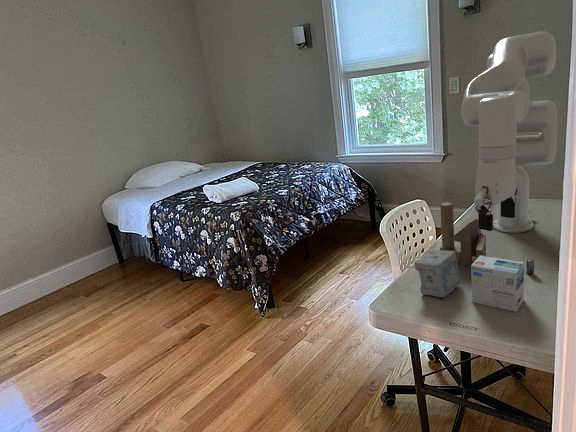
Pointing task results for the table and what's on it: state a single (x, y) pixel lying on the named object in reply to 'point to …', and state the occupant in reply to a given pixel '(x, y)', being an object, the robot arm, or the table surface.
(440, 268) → the incense holder
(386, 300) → the table surface
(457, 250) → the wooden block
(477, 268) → the light bulb box
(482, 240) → the door
